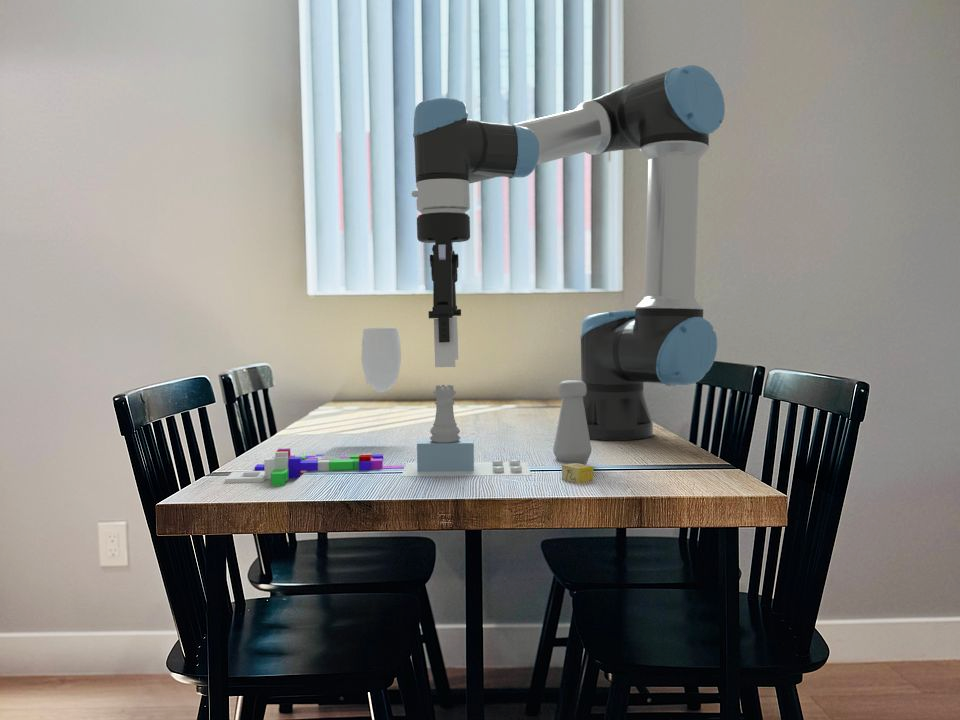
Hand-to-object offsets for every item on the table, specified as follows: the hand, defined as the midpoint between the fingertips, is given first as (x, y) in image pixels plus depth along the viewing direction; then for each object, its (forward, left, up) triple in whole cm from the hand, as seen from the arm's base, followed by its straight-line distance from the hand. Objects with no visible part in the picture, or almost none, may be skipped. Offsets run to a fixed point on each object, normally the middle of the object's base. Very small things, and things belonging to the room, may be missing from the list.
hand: (447, 363), depth 115 cm
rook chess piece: (0, 0, -11) cm, 11 cm away
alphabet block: (-18, +8, -17) cm, 26 cm away
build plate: (-3, 0, -16) cm, 16 cm away
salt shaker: (-19, -7, -16) cm, 26 cm away
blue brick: (0, 0, -15) cm, 15 cm away
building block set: (+19, -5, -17) cm, 26 cm away
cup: (+13, -31, -16) cm, 37 cm away
